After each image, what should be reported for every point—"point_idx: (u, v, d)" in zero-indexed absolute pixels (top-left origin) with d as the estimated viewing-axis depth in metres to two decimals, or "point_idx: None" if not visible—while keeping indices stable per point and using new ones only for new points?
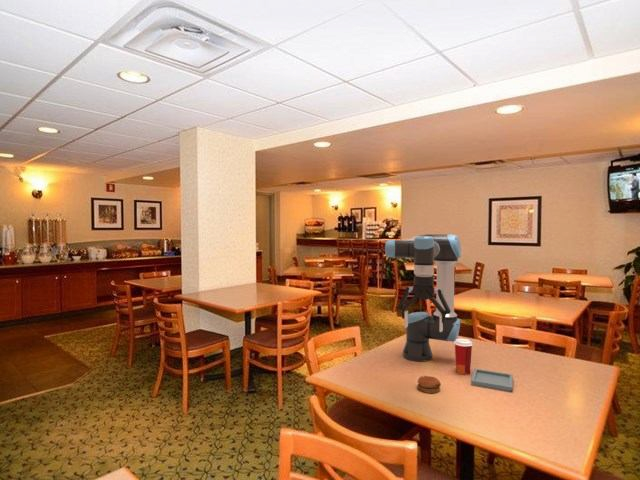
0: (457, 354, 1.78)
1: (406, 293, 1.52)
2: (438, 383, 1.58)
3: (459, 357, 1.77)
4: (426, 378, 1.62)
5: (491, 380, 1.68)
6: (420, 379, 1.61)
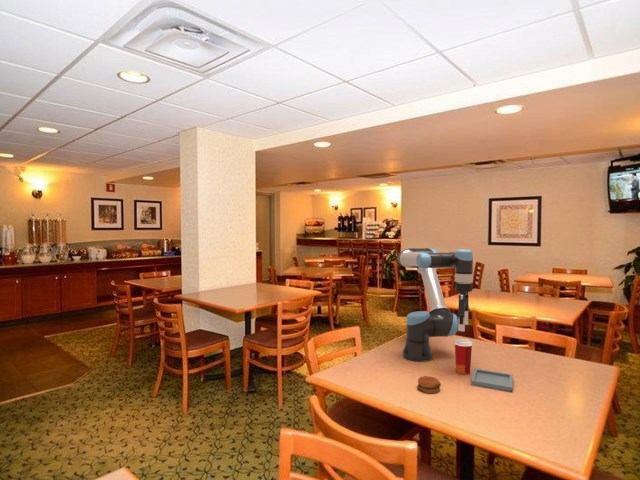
0: (457, 354, 1.78)
1: None
2: (438, 383, 1.58)
3: (460, 357, 1.77)
4: (426, 378, 1.62)
5: (491, 380, 1.68)
6: (420, 379, 1.61)
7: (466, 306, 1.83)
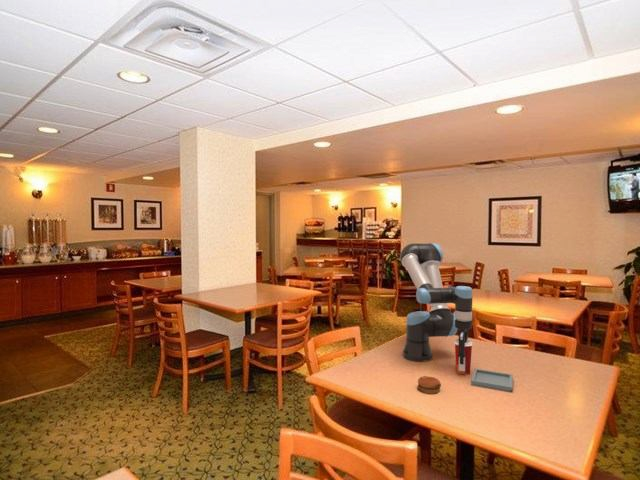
0: (457, 354, 1.78)
1: None
2: (438, 383, 1.58)
3: None
4: (426, 378, 1.61)
5: (491, 380, 1.68)
6: (420, 379, 1.61)
7: None
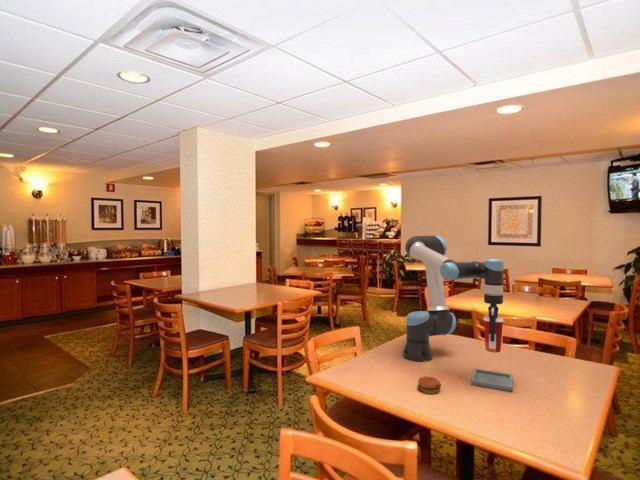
0: (487, 331, 1.66)
1: None
2: (438, 384, 1.57)
3: None
4: (426, 379, 1.61)
5: (491, 380, 1.68)
6: (420, 380, 1.60)
7: None
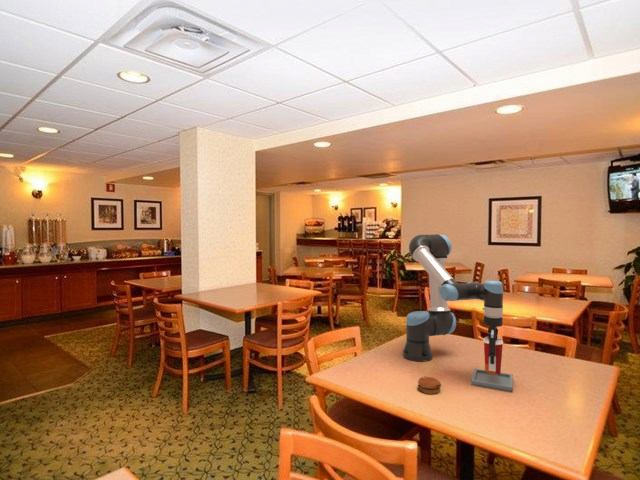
0: (487, 353, 1.66)
1: None
2: (438, 384, 1.57)
3: None
4: (426, 379, 1.61)
5: (491, 380, 1.68)
6: (420, 380, 1.60)
7: None
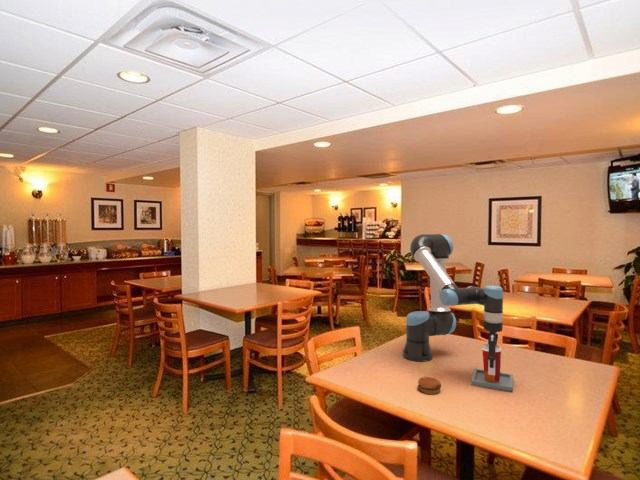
0: (486, 360, 1.67)
1: None
2: (438, 384, 1.57)
3: None
4: (426, 379, 1.61)
5: None
6: (420, 380, 1.60)
7: None
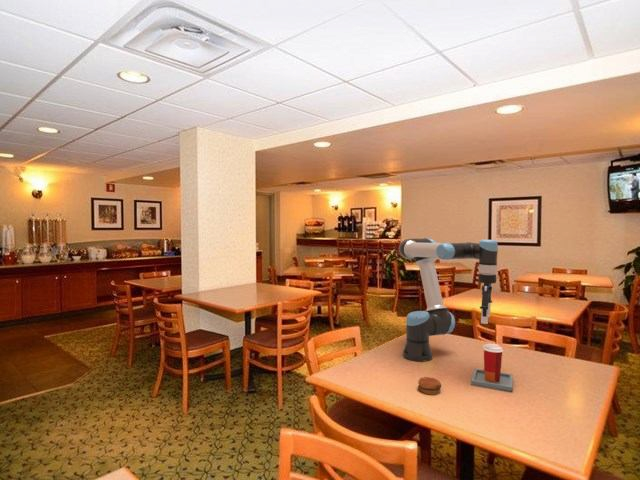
0: (486, 360, 1.67)
1: None
2: (439, 384, 1.57)
3: (489, 363, 1.66)
4: (427, 379, 1.60)
5: None
6: (420, 380, 1.60)
7: (489, 298, 1.78)
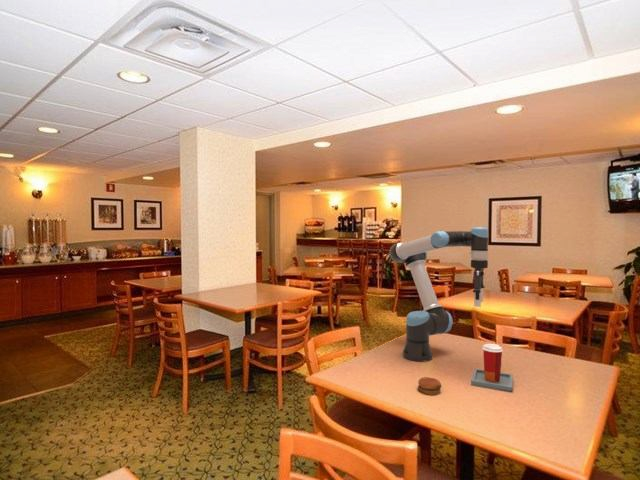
0: (486, 360, 1.67)
1: None
2: (439, 385, 1.56)
3: (489, 363, 1.66)
4: (427, 379, 1.60)
5: None
6: (420, 380, 1.60)
7: (481, 283, 1.86)
